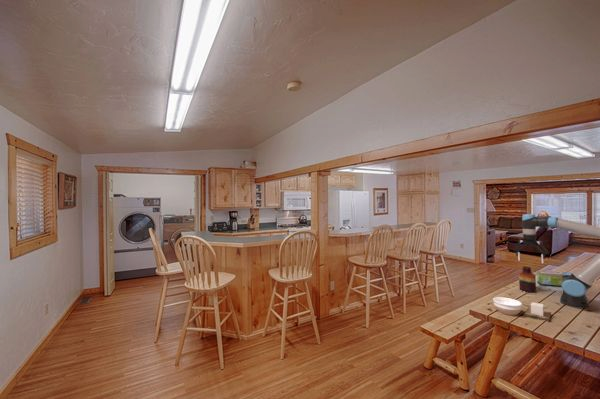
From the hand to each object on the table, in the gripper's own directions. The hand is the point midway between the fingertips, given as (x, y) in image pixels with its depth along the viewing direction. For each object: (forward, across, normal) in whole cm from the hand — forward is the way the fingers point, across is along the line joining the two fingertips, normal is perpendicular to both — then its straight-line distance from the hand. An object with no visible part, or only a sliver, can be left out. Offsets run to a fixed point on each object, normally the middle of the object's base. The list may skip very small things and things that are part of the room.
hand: (530, 261), depth 201 cm
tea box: (+31, -7, -46) cm, 56 cm away
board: (+31, -6, +29) cm, 43 cm away
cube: (+29, -6, +30) cm, 42 cm away
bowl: (+31, +10, +35) cm, 48 cm away
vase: (+31, +6, -28) cm, 42 cm away
